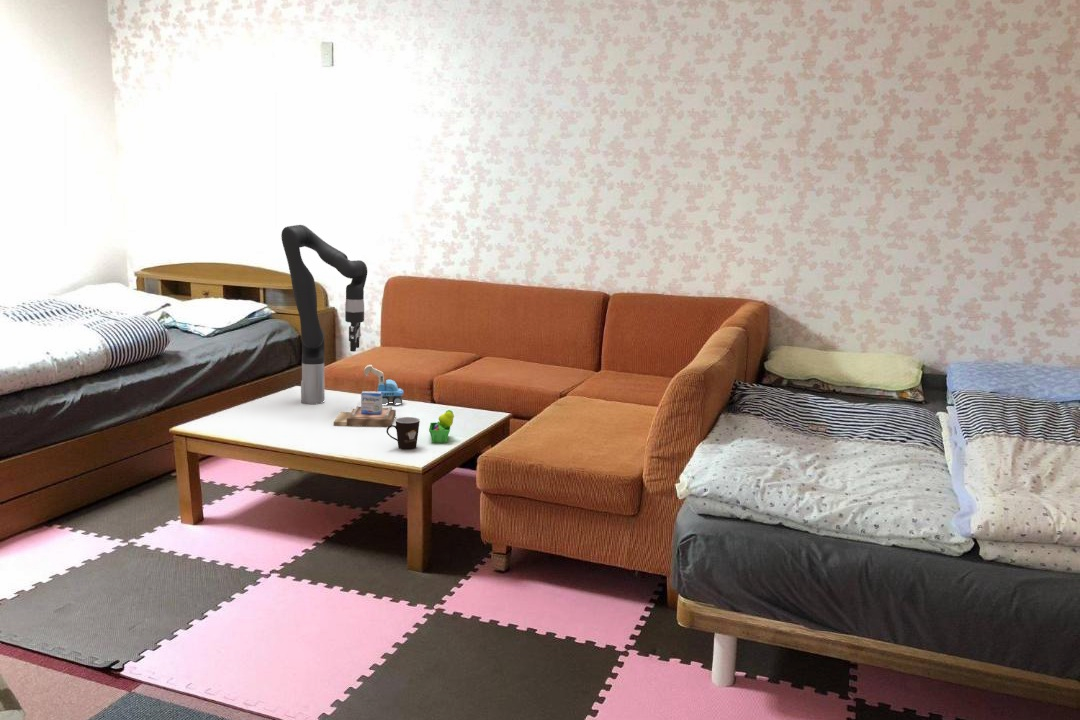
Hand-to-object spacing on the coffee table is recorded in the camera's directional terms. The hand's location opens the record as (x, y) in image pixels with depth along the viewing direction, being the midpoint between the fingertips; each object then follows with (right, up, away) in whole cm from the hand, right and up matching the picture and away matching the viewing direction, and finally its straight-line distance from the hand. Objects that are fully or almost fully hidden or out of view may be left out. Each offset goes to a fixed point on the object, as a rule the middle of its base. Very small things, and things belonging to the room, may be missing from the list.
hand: (354, 349), depth 345 cm
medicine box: (+9, -26, -10) cm, 29 cm away
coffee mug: (+27, -36, -43) cm, 62 cm away
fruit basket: (+39, -34, -31) cm, 61 cm away
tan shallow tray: (+6, -29, -10) cm, 31 cm away
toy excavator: (+8, -24, +20) cm, 32 cm away
